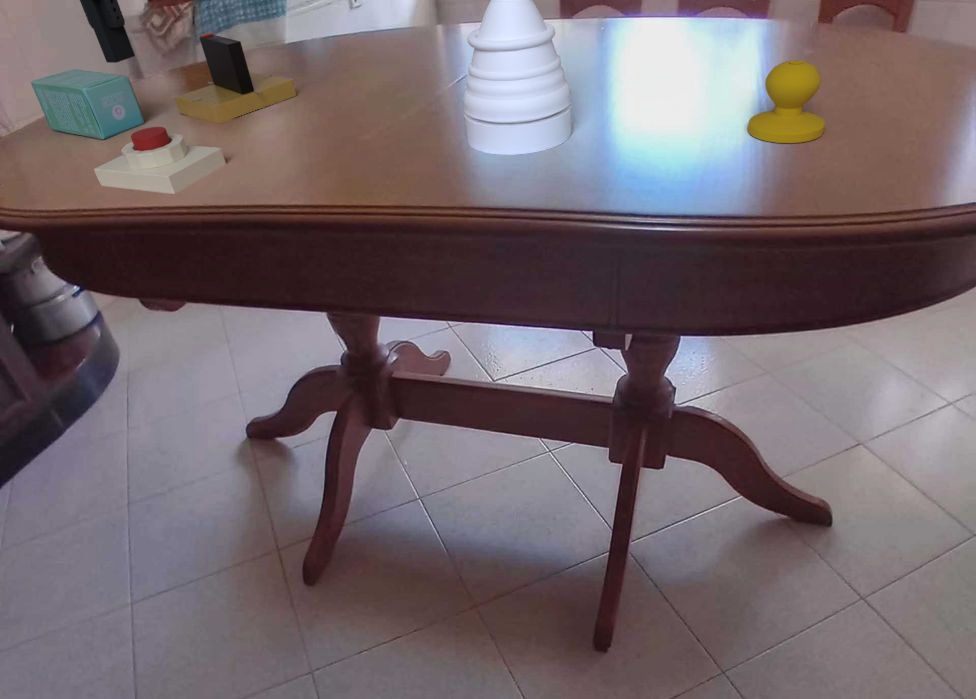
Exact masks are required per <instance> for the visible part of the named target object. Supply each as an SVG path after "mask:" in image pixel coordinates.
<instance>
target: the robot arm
mask: <svg viewBox="0 0 976 699" xmlns="http://www.w3.org/2000/svg"><path fill="white" fill-rule="evenodd" d="M79 2H80V5H81V7H82V10H83V12H84V14H85V17H86V19H87V22H88V25H89V26H90V27H91V29H93V32H94V34H95V36H96V39H97V41H98V44H99V47H100V49H101V51H102V54H103V56H104V57H103V58H104V59H105V62H106V63H107V64H108V63H110V64H111V63H112V64H113V63H115V64H117V63H120V62H123V61H125V60H128V59H130V58H135V57H136V54H135V52H134V49H133V46H132V44H131V42H130V38H129V35H128V33H127V31H126V27H125V25H126V22H125V18H124V14H123V11H122V9H121V7H120V4H119V1H118V0H79Z"/></svg>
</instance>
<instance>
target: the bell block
mask: <svg viewBox="0 0 976 699" xmlns="http://www.w3.org/2000/svg"><path fill="white" fill-rule="evenodd" d="M167 134H168V136H169V139H170V142H171V143H169V144H167V145H165V146H163V147H160V148H157V149H153V150H147V151H136V149H135V147H134V144H133V142H132V141H131V142H128V143H126V144H125V145H124V147H122V149H121V150H120V151H121V154H122V155H120V156H118V157H116V158H113V159H111V160H109V161H107V162H105V163H103V164H101V165H98V166H97V167H95V168H93V171H94V174H95V175H96V178H97V181H98V182H99V185H100V186H101V187H108V188H109V187H110V188H118V189H124V190H125V189H126V190H134V191H135V190H136V191H144V192H151V193H161V194H168V195H169V194H170V195H171V194H172V195H176V194H178V193H179V192H181V191H182V190H185V189H186V188H189V187H190V186H192V185H193V184H195V183H197V182H198V181H200V180H202V179H204V178H205V177H207V176H209V175H211V174H212V173H214V172H216V171H218V170H220V169H222V168H223V167H225V166H226V165H227V162H226V159H225V156H224V153H223V149H222V148H221V147H214V146H203V145H202V146H201V145H189V144H188V145H187V144H186V142H185V139H184V137H183V136H182V135H181V134H179V133H169V132H167Z"/></svg>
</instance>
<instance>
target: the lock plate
mask: <svg viewBox="0 0 976 699" xmlns="http://www.w3.org/2000/svg"><path fill="white" fill-rule="evenodd" d="M249 74H250V77H251V81H252V84H253V88H254V91H253V92H250V93H246V94H243V95H242V94H239V93H237V92H234V91H231V90H228V89H225V88H222V87H219V86H217V85H214V83H213V81H212V82H211V81H207V82H206V84H207V85H208V86H204V87H202V88H199V89H196V90H193V91H192V90H191V91H190V92H186V93H183V94H180V95H177V96H174V97H173V98H174V101H175V104H176V107H177V109H178V112H179V115H183V116H188V117H192V118H196V119H199V120H204V121H209V122H213V123H216V124H222V123H225V122H227V121H230V119H231V120H233V119H236V118H235V117H237V118H239V117H238V116H240V117H242V116H245V115H247V114H246V113H248V114H250V113H249V112H251V113H253V112H256V111H258V110H257V109H259V110H261V108H262V109H264V108H267V107H269V105H270V106H273V105H275V104H277V103H280V102H283V101H285V100H289V99H291V98H294V97H296V96H297V92H296V89H295V85H294V81H293V79H291V78H285V77H280V76H273V74H262V73H255V72H249ZM272 104H273V105H272ZM266 106H267V107H266ZM255 110H256V111H255ZM252 111H253V112H252ZM244 114H245V115H244ZM241 115H242V116H241ZM232 118H233V119H232Z"/></svg>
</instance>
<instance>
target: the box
mask: <svg viewBox="0 0 976 699" xmlns="http://www.w3.org/2000/svg"><path fill="white" fill-rule="evenodd" d="M30 84H31V87H32V89H33V91H34V93H35V96H36V98H37V101H38V103H39V106H40V107H41V110H42V113H43V114H44V117H45V119H46V122H47V124H48V127H49V128H50V130H52V131H57V132H62V133H67V134H73V135H78V136H84V137H87V138H88V137H89V138H94V139H99V140H103V141H104V140H107V139H109V138H112V137H115V136H118V135H120V134H122V133H125V132H127V131H130V130H133V129H135V128H138V127H141V126H142V125H145V124H144V123H145V121H144V116H143V113H142V110H141V106H140V105H139V102H138V99H137V96H136V94H135V91H134V88H133V85H132V83H131V81H130V78H129V77H128V76H127V75H123V74H115V73H107V72H101V71H100V72H99V71H90V70H82V69H76V68H74V69H68V70H66V71H63V72H59V73H55V74H52V75H48V76H43V77H41V78H37V79H33V80H31V81H30Z"/></svg>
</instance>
